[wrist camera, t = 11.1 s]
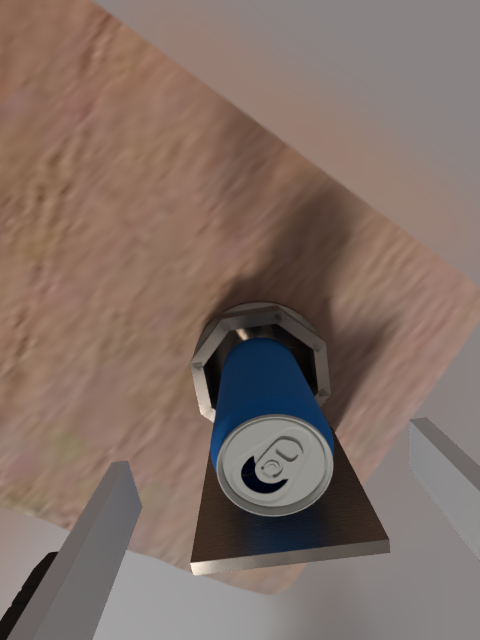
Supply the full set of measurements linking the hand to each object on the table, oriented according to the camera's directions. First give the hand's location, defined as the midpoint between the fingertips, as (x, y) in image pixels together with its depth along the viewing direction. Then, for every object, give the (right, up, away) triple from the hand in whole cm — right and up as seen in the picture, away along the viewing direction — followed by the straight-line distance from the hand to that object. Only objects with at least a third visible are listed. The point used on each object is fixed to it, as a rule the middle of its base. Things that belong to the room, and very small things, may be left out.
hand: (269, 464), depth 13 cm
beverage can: (0, +2, +12) cm, 12 cm away
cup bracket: (+1, +1, +13) cm, 13 cm away
